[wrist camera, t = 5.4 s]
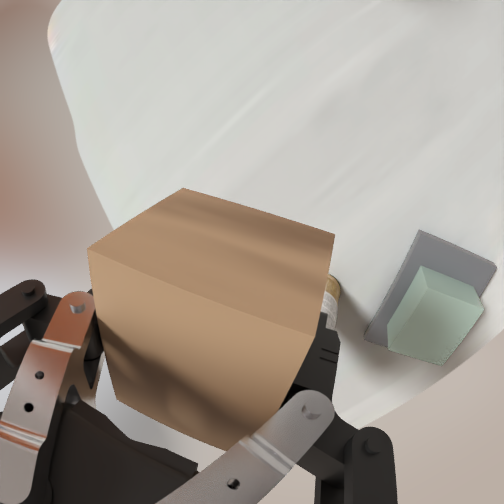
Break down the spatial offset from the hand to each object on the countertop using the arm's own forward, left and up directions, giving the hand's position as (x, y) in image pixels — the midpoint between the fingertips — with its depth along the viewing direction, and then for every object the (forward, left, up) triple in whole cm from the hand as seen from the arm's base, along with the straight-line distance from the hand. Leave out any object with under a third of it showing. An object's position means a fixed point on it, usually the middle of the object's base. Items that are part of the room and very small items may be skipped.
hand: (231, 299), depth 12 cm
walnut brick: (0, 0, -1) cm, 1 cm away
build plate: (+8, +17, -19) cm, 27 cm away
